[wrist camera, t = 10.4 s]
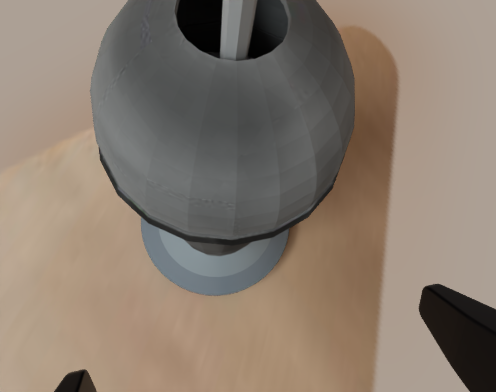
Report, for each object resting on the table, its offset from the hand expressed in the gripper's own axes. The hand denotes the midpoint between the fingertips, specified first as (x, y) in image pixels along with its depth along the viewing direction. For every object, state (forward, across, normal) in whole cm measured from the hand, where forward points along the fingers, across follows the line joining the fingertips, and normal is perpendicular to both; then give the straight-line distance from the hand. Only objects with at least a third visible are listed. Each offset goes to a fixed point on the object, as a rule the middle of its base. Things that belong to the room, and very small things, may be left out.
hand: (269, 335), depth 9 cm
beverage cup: (+12, 0, +4) cm, 13 cm away
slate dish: (+13, 0, +4) cm, 14 cm away
